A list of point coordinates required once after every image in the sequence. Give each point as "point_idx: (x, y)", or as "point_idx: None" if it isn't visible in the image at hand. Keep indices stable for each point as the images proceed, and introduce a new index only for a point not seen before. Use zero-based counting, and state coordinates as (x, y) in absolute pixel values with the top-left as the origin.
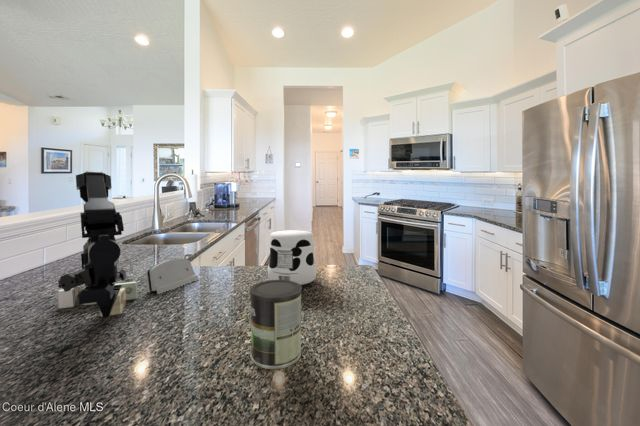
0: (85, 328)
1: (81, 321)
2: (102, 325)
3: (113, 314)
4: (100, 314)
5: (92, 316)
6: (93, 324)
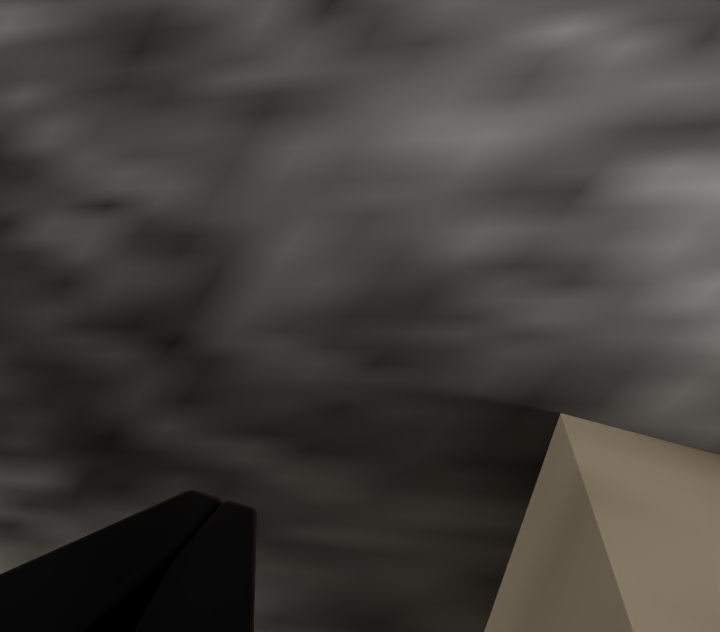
0: (65, 169)
1: (522, 67)
2: (68, 416)
3: (498, 608)
4: (568, 439)
5: (702, 277)
6: (191, 292)
